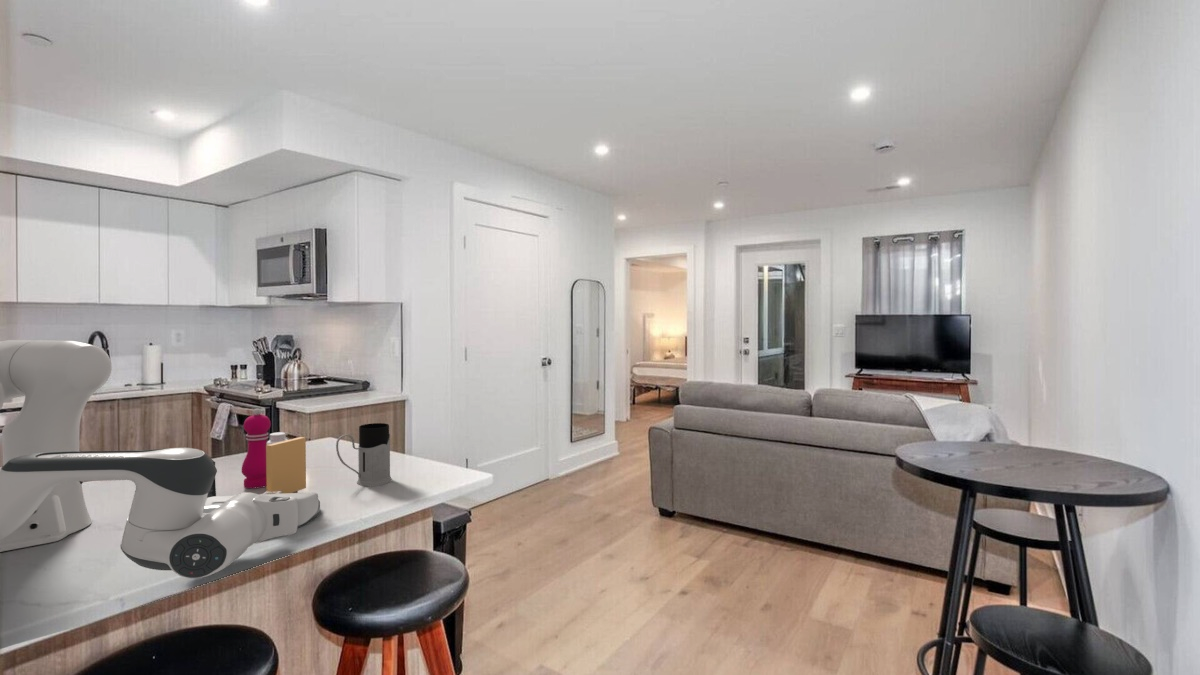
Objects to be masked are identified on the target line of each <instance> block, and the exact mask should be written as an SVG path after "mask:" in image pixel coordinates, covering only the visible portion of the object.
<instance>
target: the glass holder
mask: <svg viewBox="0 0 1200 675" xmlns="http://www.w3.org/2000/svg"><path fill="white" fill-rule="evenodd" d="M344 437H349V438H350V439H351V442H352V448H353V450H358V451H357V453H358V457H357V458H358V471H357V470H356V469H354V468H353V467H350V466H349V465H348V464H347V463H346V462H345V461H344V460H343V458H342V456H341V454H340V451H339V441H340V440H341V439H342V438H344ZM390 439H391V435H390V424H389V423H383V422H382V423H380V422H379V423H378V422H377V423H374V422H373V423H366V424H361V425H359V426H358V446H357V447H355V446H356V445H355V439H354V437H353V436H352V435H350V434H343V435H340V436H339V437H338V438H337V439H336V443H335V448H336V454H337V457H338V459H339V460H340V462H341V464H343V465H344V466H345V467H346V468H348V469H349V470H351V471H353V472H355V473H356V474H357V475H358V476H357V477H358V479H357V481H356V484H357V485H358V486H362V487H377V486H376V485H378V486H383V485H386V484H389V483H391V482H392V481H393V478H392V477H391V440H390ZM391 480H392V481H391ZM390 481H391V482H390ZM388 482H389V483H388ZM385 483H386V484H385ZM382 484H383V485H382Z"/></svg>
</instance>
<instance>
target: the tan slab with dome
mask: <svg viewBox="0 0 1200 675" xmlns="http://www.w3.org/2000/svg"><path fill="white" fill-rule="evenodd" d="M306 445H307V444H306V437H303V436H300V437H295V438H290V439H288V440H286V441H282V442H277V443H273V444H269V445H266V478H267V486H266V492H269V491H282V493H293V492H296V491H302V490H304V489H307V454H306V453H307V450H306Z"/></svg>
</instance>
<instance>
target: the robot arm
mask: <svg viewBox="0 0 1200 675" xmlns="http://www.w3.org/2000/svg"><path fill="white" fill-rule="evenodd" d="M112 368H113V367H112V361H111V358H110V356H109V355H108V353H107V352H106V350H104V349H103V348H101V347H99V346H98V345H94V344H91V343H87V342H86V343H85V342H81V341H78V340H77V341H76V340H50V339H48V340H45V339H39V340H38V339H36V340H35V339H34V340H33V339H7V340H0V410H1V409H2V408H3V406H4V403H5V402H7V401H9V400H12V399H15V398H21V397H24V401H23V405H22V407H21V409H20V411H19V413H18V415H17V416H16V417H14V418H12V419H10V420H9V421H8V422H6V423H5V425H4V426H3V428H2V431H1V438H2V439H1V440H2V442H1V443H2V446H1V447H2V466H1V467H0V553H2V552H6V551H11V550H17V549H18V550H19V549H23V548H28V547H29V548H30V547H32V546H39V545H44V544H49V543H55V542H58V541H61V540H62V539H65V538H66V537H67V536H69V535H71V534H73V533H77V532H79V531H81V530H82V529H84V528H87V527H88V526H90V525H91V524H92V522H93V520H92V518H91V516H90V514H89V511H88V508H87V504H86V501H85V496H84V492H83V483H84V482H104V481H107V482H108V481H110V482H111V481H131V482H132V483H133V484H134V485H135V491H134V494H133V499H132V501H131V506H130V510H129V514H128V516H127V518H126V522H125V526H124V530H123V534H122V539H121V543H120V549H121V551H122V552H123V554H124V555H125V557H127V558H128V559H129V560H130V561H132V562H133V563H135V564H137V565H138V566H140V567H143V568H146V569H149V570H156V571H172V572H174V573H175V574H177V575H178V576H180V577H182V578H185V579H187V578H188V579H202V578H205V577H208V576H212V575H213V574H216V573H218V572H220V571H222V570H224V569H226V568H227V567H229V566H230V565H231V564H233V563H234V562H235V561H236V560H237V559H239V558H240V557H241V556H242V555H244V553H245V552H246V551H247V550H248V549H249V548H250V547H251V546H253V545H255V544H258V543H260V542H264V541H267V540H271V539H275V538H276V539H277V538H281V537H285V536H291V535H293V534H294V535H295V533H297V531H298V528H297V527H298V526H299V525H302V524H304V523H305V522H307V521H308V520H309V519H310V518H311V517H312V516H313V515H314V514H315V513H316V512H317V510H318V502H319V501H320V500H319V501H318V499H319V495H318V493H317V492H315V491H312V492H311V491H309V492H308V491H307V492H298V493H282V491H269V492H267V491H265V492H263V493H260V494H258V493H255V492H241V493H238V494H235V495H216V496H213V497H208V498H207V495H208V492H209V491H210V489H211V486H212V484H213V481H214V478H215V479H216V476H217V472H218V470H217V468H216V464H215V465H214V463H213V462H212V460H213V459H212V458H211V457H210V456H209V455H208V454H207V452H204V451H203V450H201V449H198V448H192V447H172V448H171V447H170V448H157V449H145V450H85V451H83V450H82V451H81V450H80V432H81V431H80V429H81V428H80V427H81V420H82V415H83V412H84V410H85V408H86V405H87V404H88V401H89V400H90V398H91V397H92V396H93V395H94V393H96V392H97V391H98V390H99V389H100V388H102V387H103V386H104V385H105V384H106V382H107V381H108V380H109V379H110V376H111V373H112ZM209 457H210V458H211V459H212V460H211V459H210V458H209Z"/></svg>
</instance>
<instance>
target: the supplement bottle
mask: <svg viewBox="0 0 1200 675" xmlns="http://www.w3.org/2000/svg"><path fill="white" fill-rule="evenodd" d="M286 440H289V439H287V437H286V432H284V431H283V432H282V431H281V432H280V431H278V432H277V431H276V432H272V433H269V440H267V445H269V444H273V443H277V442H282V441H286Z"/></svg>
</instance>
